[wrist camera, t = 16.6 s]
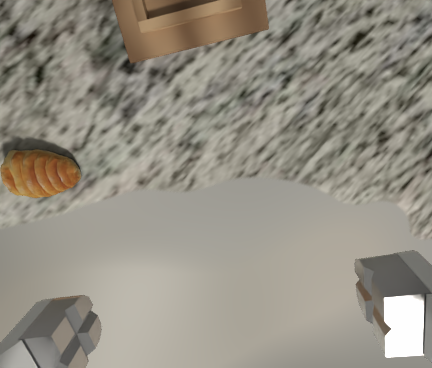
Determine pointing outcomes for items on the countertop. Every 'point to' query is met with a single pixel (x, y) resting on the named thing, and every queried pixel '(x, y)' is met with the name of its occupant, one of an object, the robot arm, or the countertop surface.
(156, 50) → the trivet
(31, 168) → the pastry
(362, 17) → the countertop surface
